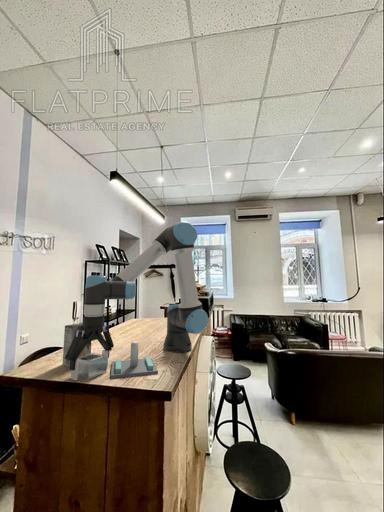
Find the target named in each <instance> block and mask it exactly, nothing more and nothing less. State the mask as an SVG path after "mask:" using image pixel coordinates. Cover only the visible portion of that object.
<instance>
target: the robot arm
mask: <svg viewBox="0 0 384 512" xmlns="http://www.w3.org/2000/svg"><path fill="white" fill-rule="evenodd" d="M197 238H198V232H197V229H196V227H195V226H194V225H193V224H192V223H190V222H188V221H181V222H177V223H175V224H173V225H171V226H169V227H166V228H165V229H164V230H163V231H162V232H161V233H160V234H159V235H158V236H157V237H155V239H153V241H151V242H152V243H151V245H149V247H148V248H146V249H145V250H144V251H143V252H141V254H140V255H138V256H137V257H136V258H135V259H134V260H133V261H131V263H129V264H128V265H127V266H125V268H123V270H122V271H120V272H118V274H117V275H115V276H114V277H113V278H112V279H111V280H108V279H107V276H105V275H88V276H87V277H86V280H85V287H84V288H85V289H84V304H83V306H84V307H83V317H82V323H83V327H84V329H83V331H75V336H74V339H73V341H72V343H71V345H70V347H69V349H68V352H67V354H66V356H65V359H66V360H70V367H68V368H69V371H70V380H73V381H77V380H78V377H79V376H78V364H79V360H77V358H78V357H79V355H80V354H81V352H82V351H83V349H84V348H85V346H86V344H87V343H89V341H91V342H93V341H98V342H99V345H101V347H102V348H103V350H102V351H101V353H102V354H101V355H106V356H107V368H108V365H109V358H110V352H111V351H112V349H113V348H114V347H115V344H114V342H113V339H112V336H111V333H110V327H109V326H108V325H105V316H104V314H105V312H106V309H105V308H106V300H107V301H108V300H109V301H110V300H126V301H127V300H132V299H134V298H135V296H136V293H137V286H136V283H135V280H137V279H138V278H139V277H140V276H141V275H142V274H143V273H144V272H145V271H147V269H149V268H150V267H151V266H152V265H153V264H154V263H155V262H156V261H157V260H158V259H159V258H160V257H161V256H166V255H167V253H168V252H171V253H172V254H174V259H175V266H176V274H177V283H178V290H179V297H180V298H179V299H180V303H178V304H170V305H168V306H167V310H166V317H167V318H166V319H167V320H166V335H165V339H164V341H163V347H162V348H163V350H164V352H165V351H166V352H169V353H185V351H186V352H189V351H192V348H193V346H192V341H191V337H190V334H193V335H198V334H201V333H202V332H204V331H205V329H206V327H207V326H208V323H209V316H208V313H207V312H206V311H205V310H204V309H203V303H202V302H201V301H200V300H199V297H198V290H197V281H196V274H195V272H196V271H195V265H194V258H193V251H194V250H195V243H196V242H197V241H196V240H197ZM102 333H103V334H102ZM82 336H83V337H82ZM85 339H86V340H85Z"/></svg>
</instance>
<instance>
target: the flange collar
mask: <svg viewBox="0 0 384 512" xmlns="http://www.w3.org/2000/svg"><path fill="white" fill-rule="evenodd" d="M77 360H79V364H78V377H79V378H82V379H86V380H90V379H93V378H95V377H98V376H100V375H102V374H105V373H107V356H106V355H102V354H101V353H96V352H91V353H90V354H87V355H84V356H80V357H78V358H77Z"/></svg>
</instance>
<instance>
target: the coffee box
mask: <svg viewBox="0 0 384 512" xmlns="http://www.w3.org/2000/svg"><path fill="white" fill-rule="evenodd" d="M83 329H84V327H83V322H79V323H74V324H67V325H64V335H63V336H64V337H63V351H62V352H63V354H62V362H61V363H62V364H61V365H62V366H66V367H68V368H70V360H66V359H65V356H66V354H67V352H68V349H69V347H70V345H71V343H72V341H73V339H74V336H75V331H83ZM82 337H83V336H82ZM85 340H86V339H85ZM90 353H92V341H89V343H87V344H86V346H85V348H84V349H83V351H82V352H81V354H80V355H79V357H80V356H84V355H87V354H90Z"/></svg>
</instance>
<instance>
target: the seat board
mask: <svg viewBox="0 0 384 512" xmlns="http://www.w3.org/2000/svg"><path fill="white" fill-rule="evenodd" d="M139 345H140V344H139V341H131V342H130V357H129V358H130V359H124V360H122V358H116V359H115V360H113V361H111V371H110V372H111V373H110V379H119V378H127V377H139V376H147V375H157V374H159V370H158V368H157V364H155V363H156V362H155V361H154V359H153V357H150V356H144V358H139Z"/></svg>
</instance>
